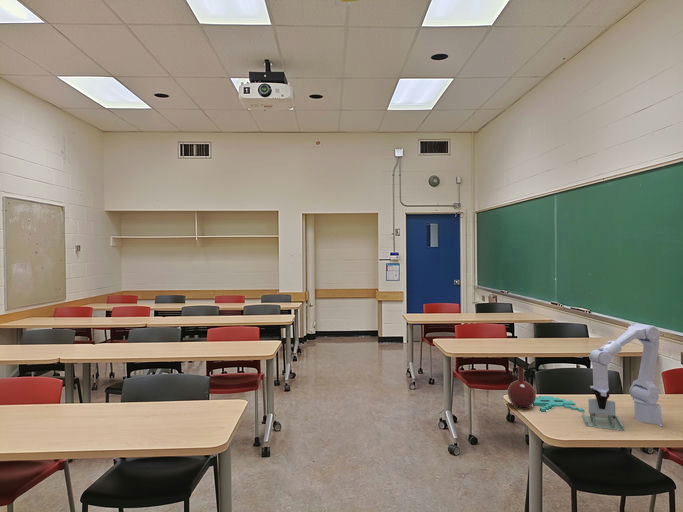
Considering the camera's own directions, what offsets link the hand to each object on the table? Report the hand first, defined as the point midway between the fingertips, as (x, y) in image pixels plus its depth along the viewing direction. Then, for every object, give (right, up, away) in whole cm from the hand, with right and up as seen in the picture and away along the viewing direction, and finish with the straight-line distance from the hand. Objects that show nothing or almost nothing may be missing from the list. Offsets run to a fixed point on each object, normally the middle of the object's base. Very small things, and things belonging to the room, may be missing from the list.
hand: (601, 408), depth 175 cm
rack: (0, -8, 0) cm, 8 cm away
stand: (+6, -8, +8) cm, 13 cm away
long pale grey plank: (0, -3, 0) cm, 2 cm away
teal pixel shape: (-8, -9, +25) cm, 28 cm away
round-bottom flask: (-25, -9, +24) cm, 36 cm away
